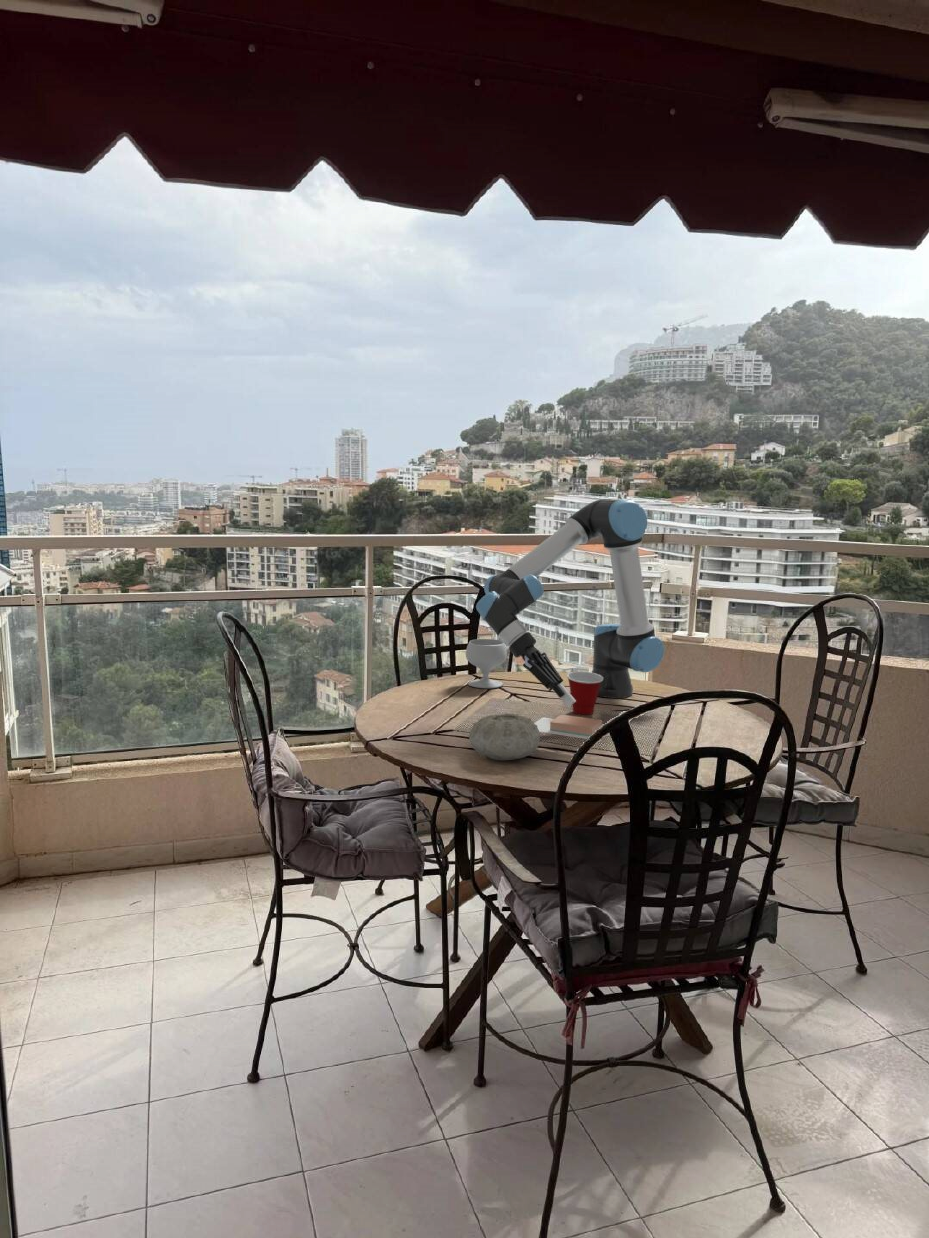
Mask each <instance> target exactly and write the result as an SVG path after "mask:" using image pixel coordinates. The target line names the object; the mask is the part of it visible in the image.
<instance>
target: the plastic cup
mask: <svg viewBox="0 0 929 1238" xmlns="http://www.w3.org/2000/svg"><path fill="white" fill-rule="evenodd" d="M566 678H567V679H568V684H569V691H570V692H569V693H570V694H571V695H572V696H573V698H574V699H575V700H576V702H575V703H573V704H572V705H571V706H572V713H574V714H575V715H580V716H590V715H593V714H594V711H595V706H596V703H597V699H598V696H597V695H598V690H599V687H600V684H601V682H602V681H603V677H602V676H601V675H598V674H596V673H592V671H590V672H589V671H584V670H583V671H571V672H568V673H567V675H566Z"/></svg>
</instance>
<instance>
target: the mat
mask: <svg viewBox="0 0 929 1238" xmlns="http://www.w3.org/2000/svg"><path fill="white" fill-rule="evenodd" d="M554 719H555V718H549V717H543V716H542V717H541V718H539V719H538V720H537V721H535V722H533V723H534V724H535V725H537V728H538V730H539V733H546V734H552V735H553V734H554V735H559V736H566V737H571V738H577V739H578V738H579V739H586V740H588V739H587V738H588V737H589V736H584V735H577V734H570V733H564V732H557V731H551V730H550V722H551V721H552V720H554Z"/></svg>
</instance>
